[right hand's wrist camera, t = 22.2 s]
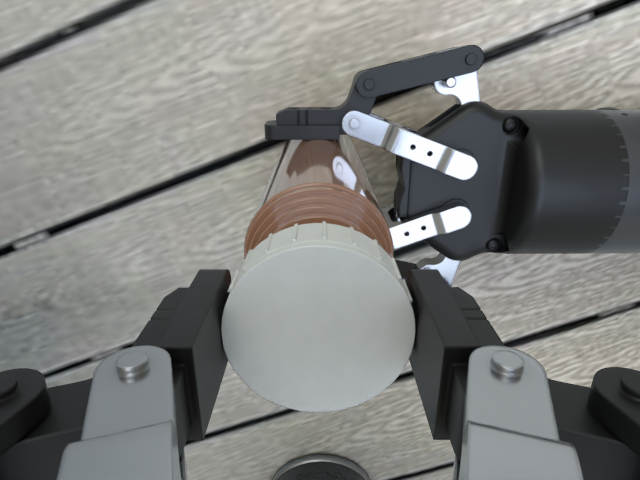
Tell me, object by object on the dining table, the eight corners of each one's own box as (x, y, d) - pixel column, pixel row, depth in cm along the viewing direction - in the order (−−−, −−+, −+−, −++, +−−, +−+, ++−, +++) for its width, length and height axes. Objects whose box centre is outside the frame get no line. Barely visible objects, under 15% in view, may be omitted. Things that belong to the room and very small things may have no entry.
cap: (380, 196, 11) (389, 216, 10) (424, 350, 13) (438, 388, 11) (203, 250, 11) (186, 277, 10) (267, 392, 13) (260, 433, 12)
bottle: (269, 139, 30) (181, 271, 11) (339, 108, 29) (378, 192, 10) (299, 206, 31) (270, 423, 12) (367, 179, 31) (444, 364, 12)
